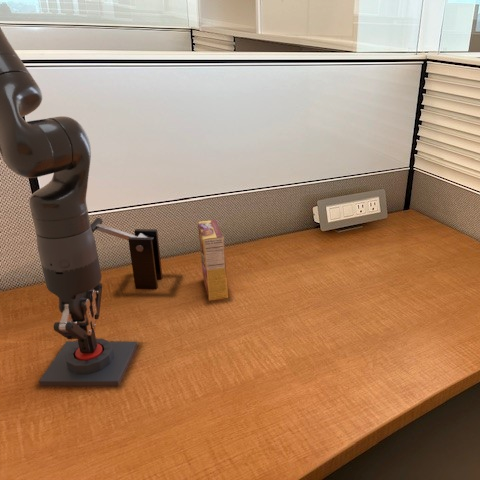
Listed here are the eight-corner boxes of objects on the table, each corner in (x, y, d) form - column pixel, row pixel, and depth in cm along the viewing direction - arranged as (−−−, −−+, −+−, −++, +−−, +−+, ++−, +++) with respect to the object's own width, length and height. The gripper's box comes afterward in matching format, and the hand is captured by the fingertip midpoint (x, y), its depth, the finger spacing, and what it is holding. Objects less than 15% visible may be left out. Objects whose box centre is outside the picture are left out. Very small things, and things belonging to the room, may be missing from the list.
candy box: (202, 284, 105) (197, 220, 99) (221, 282, 107) (218, 218, 100) (207, 306, 98) (202, 238, 91) (228, 303, 99) (225, 236, 92)
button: (72, 367, 77) (70, 358, 76) (82, 351, 81) (81, 342, 80) (98, 367, 77) (96, 358, 76) (107, 351, 81) (105, 342, 80)
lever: (84, 234, 94) (87, 224, 93) (94, 224, 99) (96, 214, 98) (145, 254, 97) (148, 244, 96) (152, 243, 101) (155, 234, 100)
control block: (40, 389, 75) (36, 372, 73) (68, 349, 84) (64, 332, 82) (119, 389, 76) (116, 372, 74) (138, 349, 85) (135, 333, 83)
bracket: (117, 297, 99) (108, 242, 94) (129, 278, 106) (121, 225, 101) (171, 298, 100) (165, 243, 94) (179, 279, 107) (174, 226, 101)
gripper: (63, 237, 76) (81, 326, 84) (20, 278, 65) (46, 378, 72) (111, 237, 77) (125, 326, 84) (77, 279, 65) (97, 378, 72)
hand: (89, 350), depth 78 cm, fingers closed
